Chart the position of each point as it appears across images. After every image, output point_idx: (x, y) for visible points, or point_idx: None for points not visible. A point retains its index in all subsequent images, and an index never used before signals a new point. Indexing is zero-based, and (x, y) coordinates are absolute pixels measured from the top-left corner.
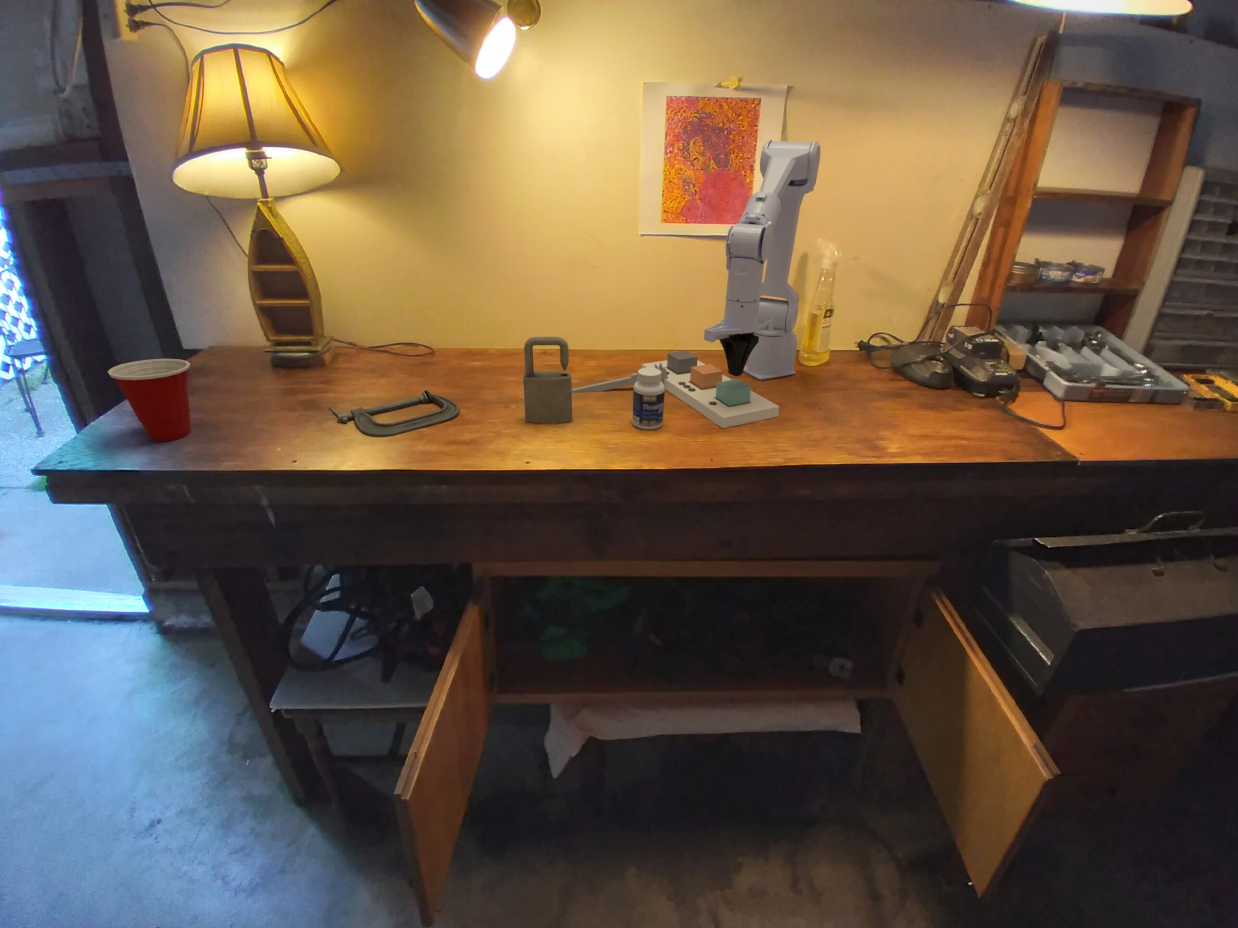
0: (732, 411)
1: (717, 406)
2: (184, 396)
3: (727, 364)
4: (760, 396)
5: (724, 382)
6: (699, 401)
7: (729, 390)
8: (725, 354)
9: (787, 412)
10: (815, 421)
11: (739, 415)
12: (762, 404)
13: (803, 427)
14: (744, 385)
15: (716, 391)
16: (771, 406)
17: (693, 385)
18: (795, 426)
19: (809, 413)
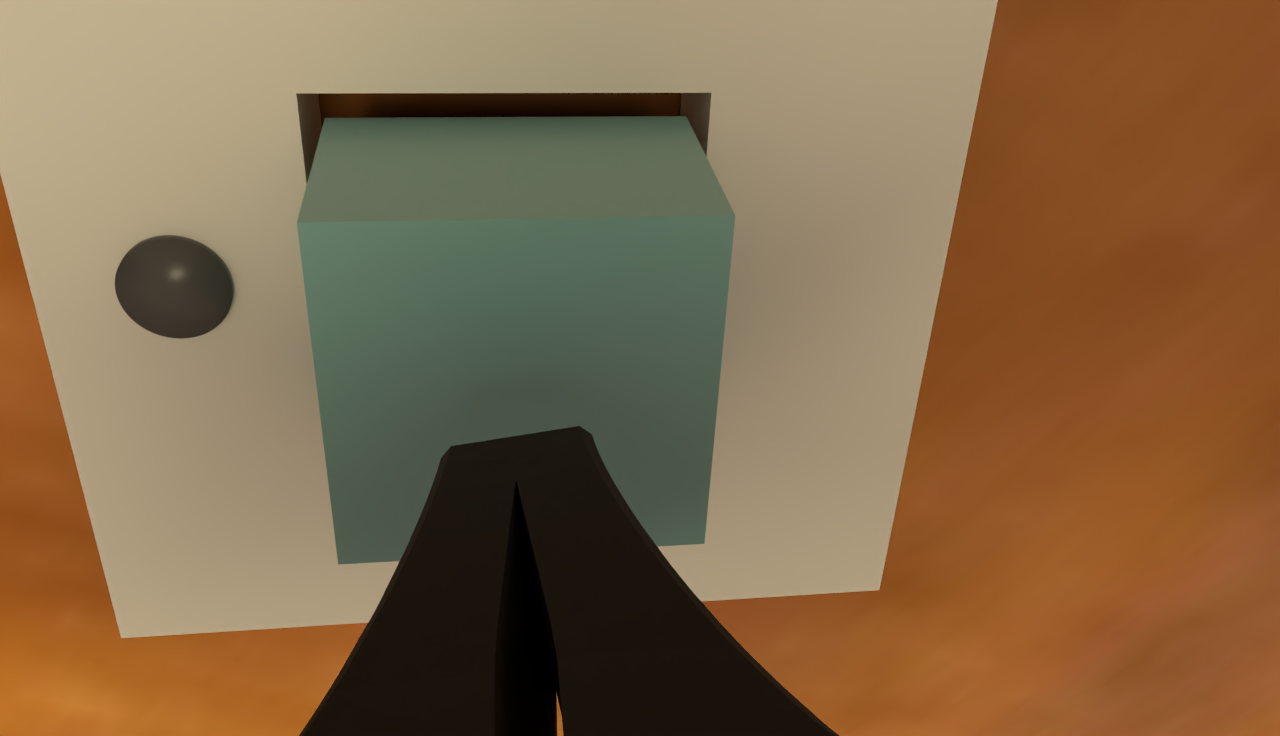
0: (313, 543)
1: (200, 375)
2: None
3: (408, 548)
4: (925, 308)
5: (428, 272)
6: (3, 142)
7: (337, 529)
8: (318, 719)
9: (1008, 463)
10: (1047, 666)
11: (347, 616)
12: (763, 499)
13: (867, 717)
14: (653, 477)
15: (315, 165)
16: (808, 568)
17: None
18: (826, 690)
19: (1154, 540)
